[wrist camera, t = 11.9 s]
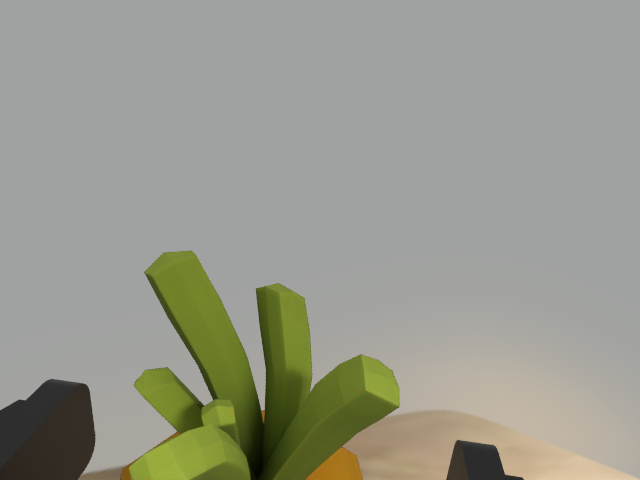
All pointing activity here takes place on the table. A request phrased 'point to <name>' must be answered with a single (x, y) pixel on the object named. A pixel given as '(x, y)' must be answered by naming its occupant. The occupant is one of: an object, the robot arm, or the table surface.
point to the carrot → (254, 391)
